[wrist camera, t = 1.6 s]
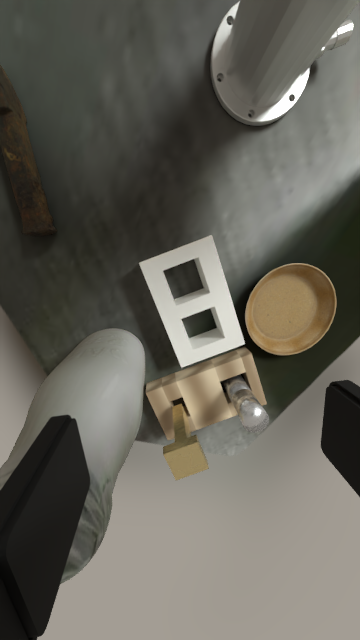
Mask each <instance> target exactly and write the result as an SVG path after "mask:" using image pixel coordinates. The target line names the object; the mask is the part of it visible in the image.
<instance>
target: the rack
mask: <svg viewBox="0 0 360 640" xmlns="http://www.w3.org/2000/svg"><path fill="white" fill-rule="evenodd" d="M192 259H194V261H195V264H196V267H197V270H198V273H199V276H200V279H201V282H202V285H203V287H204V288H203V289H200V290H197V291H195V292H192V293H189V294H187V295H184V296H182V297H179V298H176V299H174V298H173V296H172V293H171V290H170V288H169V285H168V283H167V280H166V277H165V275H164V272H163V271H164V270H166V269H169V268H171V267H174V266H177V265H179V264H182V263H185V262H187V261H190V260H192ZM139 265H140V267H141V270H142V272H143V274H144V277H145V279H146V282H147V284H148V287H149V289H150V292H151V294H152V297H153V299H154V302H155V304H156V307H157V309H158V311H159V314H160V316H161V319H162V321H163V324H164V326H165V329H166V331H167V334H168V336H169V339H170V341H171V343H172V346H173V348H174V351H175V353H176V356H177V358H178V361H179V363H180V366H181V368H182V367H185V366H187V365H190V364H193V363H195V362H198V361H201V360H204V359H206V358H209V357H212V356H214V355H217V354H220V353H222V352H225V351H228V350H230V349H233V348H236V347H238V346H241V345H244V344H245V342H244V339H243V335H242V332H241V329H240V325H239V322H238V319H237V316H236V312H235V309H234V306H233V303H232V299H231V296H230V293H229V289H228V286H227V283H226V280H225V276H224V273H223V270H222V267H221V263H220V260H219V257H218V253H217V250H216V247H215V244H214V240H213V237H212V235H210V236H208V237H205V238H203V239H200V240H197V241H195V242H192V243H190V244H187V245H184V246H182V247H179V248H176V249H174V250H171V251H169V252H166V253H163V254H161V255H158V256H156V257H153V258H150V259H148V260H145V261H142V262H140V263H139ZM209 308H211V311H212V314H213V317H214V320H215V323H216V326H217V328H215V329H212V330H210V331H207V332H204V333H202V334H199V335H196V336H194V337H191V338H188V335H187V333H186V330H185V327H184V325H183V322H182V318H185V317H188V316H190V315H193V314H196V313H198V312H201V311H204V310H206V309H209Z"/></svg>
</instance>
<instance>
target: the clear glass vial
mask: <svg viewBox="0 0 360 640" xmlns="http://www.w3.org/2000/svg"><path fill="white" fill-rule="evenodd" d="M222 383H223V386H224V388H225V390H226V392H227V394H228V396H229V398H230V400H231V402H232V404H233V406H234V408H235V410H236V412H237V414H238V416H239V418H240V420H241V422H242V424H243V426H244V428H245V429H246V430H247V431H249V432H259V431H261V430H263V429H264V428H265V427H266V426H267V425H268V422H269V417H268V415H267V413H266V412H265V410H264V409H263V407H262V406H261V404H260V403H259V401H258V400H257V398H256V397H255V395H254V394H253V392H252V391H251V390H250V388H249V387H248V385H247V384H246V382H245V381H244V379H243V378H242V376H241V375H240V374H239V375H237V376H234V377H231V378H228V379H226V380H223V381H222Z"/></svg>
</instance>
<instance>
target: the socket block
mask: <svg viewBox="0 0 360 640" xmlns="http://www.w3.org/2000/svg"><path fill="white" fill-rule="evenodd" d="M242 373H243V375H244V378H245V382H246V384H247V385H248V387H249V388H250V390H251V391H252V392H253V394H254V395H255V397H256V398H257V400H258V401H259V403H260V404H261V406H263V405H266V404H267V403H266V400H265V396H264V393H263V390H262V386H261V383H260V380H259V376H258V373H257V370H256V366H255V363H254V360H253V356H252V353H251V352H250V351H249V350H248V349H247V348H246V347H243V348H240V349H237V350H235V351H232V352H229V353H226V354H224V355H221V356H218V357H216V358H213V359H210V360H208V361H205V362H202V363H200V364H197V365H194V366H192V367H189V368H186V369H184V370H181V371H178V372H176V373H173V374H170V375H167V376H165V377H162V378H159V379H157V380H154V381H151V382H149V383H147V385H146V395H147V397H148V399H149V401H150V403H151V405H152V408H153V410H154V412H155V414H156V416H157V418H158V420H159V422H160V425H161V427H162V429H163V431H164V433H165V435H166V437H167V439H168V440H171V439H173V438H175V436H174V423H173V411H172V407H174V404H173V402H172V401H173V400H176V399H178V398H181V397H183V399H184V402H185V404H186V406H185V407H183V408H184V410H185V413H186V415H187V417H188V420H189V426H190V432H192V431H195V430H198V429H200V428H203V427H206V426H209V425H211V424H214V423H217V422H219V421H222V420H225V419H228V418H230V417H233V416H236V415H238V414H237V412H236V410H235V408H234V406H233V404H232V402H231V400H230V398H229V396H228V394H227V392H226V393H224V392H223V389H222V386H221V384H220V381H223V380H226V379H228V378H231V377H234V376H237V375H239V374H242Z"/></svg>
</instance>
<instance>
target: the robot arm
mask: <svg viewBox="0 0 360 640" xmlns="http://www.w3.org/2000/svg"><path fill="white" fill-rule="evenodd" d="M359 1H360V0H240V1H238V2H237V3H236V4H235V5H234V6H233V7H232V8H231V9H230V10H229V11H228V12H227V14H226V15H225V16H224V18H223V20H222V21H221V23H220V25H219V27H218V29H217V32H216V36H215V39H214V42H213V47H212V51H211V60H210V71H211V79H212V84H213V88H214V91H215V93H216V96H217V98H218V100H219V102H220V103H221V105H222V107H223V108H224V109H225V110H226V111H227V112H228V114H229V115H231V116H232V117H233V118H235V119H236V120H237V121H240V122H242V123H244V124H247V125H252V126H262V125H266V124H270V123H272V122H274V121H276V120H278V119H280V118H281V117H282V116H284V115H285V114H286V113H287V112H288V111H289V110H290V109H291V108H292V107H293V106H294V104H295V103H296V102H297V100H298V99H299V98H300V96H301V94H302V92H303V90H304V88H305V86H306V83H307V80H308V77H309V73H310V67H311V64H312V63H313V62H314V60H315V59H318V58H320V57H321V56H322V55H323V53H324V52H325V51H327V50H332V49H334V48H337V47H339V46H342V45H345V44H346V43H347V42H348V41H349V39H350V37H351V35H352V30H353V23H352V21H351V20H345V19H346V18H347V17H348V15H349V14H350V13H351V11H352V10H353V9H354V8H355V6H356V5H357V4H358V2H359ZM344 20H345V21H344ZM219 81H220V82H219ZM249 116H250V117H249ZM321 448H322V451H323V453H324V454H325V456H326V457H327V458H328V459H329V461H330V462H331V463H332V464H333V465H334V467H335V468H336V469H337V470H338V471H339V472H340V474H341V475H342V476H343V477H344V479H345V480H346V481H347V482H348V483H349V485H350V486H351V487H352V488H353V489H354V491H355V492H356V493H357V494H358V495H359V497H360V387H359V386H358V385H356V384H355V383H353V382H351V381H349V380H344V381H335V382H332V383H330V385H329V387H327V388H326V396H325V407H324V417H323V427H322V438H321ZM89 487H90V475H89V470H88V466H87V462H86V458H85V454H84V450H83V446H82V442H81V437H80V433H79V429H78V425H77V421H76V419H75V418H71V416H70V415H61V416H53V417H51V418H50V419H49V420H48V422H47V423H46V425H45V426H44V427H43V429H42V430H41V432H40V433H39V435H38V436H37V438H36V439H35V441H34V442H33V444H32V445H31V446H30V448H29V449H28V451H27V452H26V454H25V455H24V457H23V458H22V460H21V461H20V463H19V464H18V465H17V467H16V468H15V470H14V471H13V472H12V474H11V475H10V477H9V478H8V480H7V481H6V483H5V484H4V486H3V487H2V489H1V490H0V640H37V637H39V636H41V635H43V633H44V631H45V629H46V627H47V624H48V621H49V618H50V615H51V612H52V608H53V605H54V602H55V598H56V595H57V592H58V589H59V585H60V582H61V579H62V576H63V572H64V569H65V566H66V563H67V559H68V556H69V553H70V549H71V546H72V543H73V540H74V536H75V533H76V530H77V527H78V523H79V520H80V517H81V514H82V510H83V507H84V504H85V500H86V497H87V494H88V491H89Z"/></svg>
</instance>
